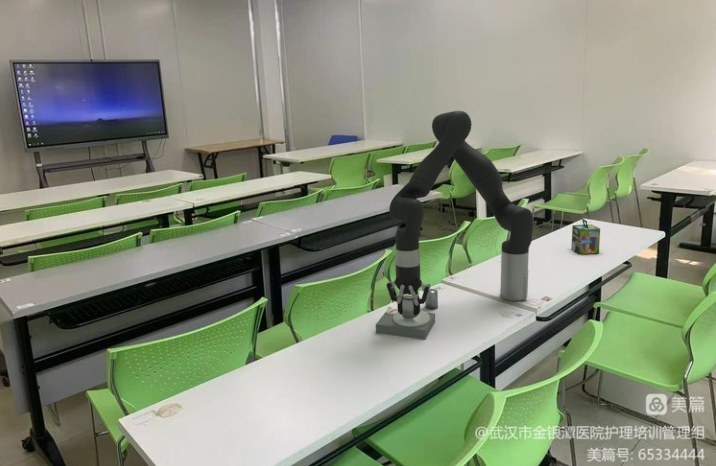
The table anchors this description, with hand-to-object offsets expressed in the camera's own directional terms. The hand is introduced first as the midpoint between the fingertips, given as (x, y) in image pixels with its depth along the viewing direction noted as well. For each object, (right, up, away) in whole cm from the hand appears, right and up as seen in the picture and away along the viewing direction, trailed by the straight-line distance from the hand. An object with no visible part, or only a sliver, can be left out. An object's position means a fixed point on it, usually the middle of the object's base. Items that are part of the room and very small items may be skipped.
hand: (408, 314), depth 165 cm
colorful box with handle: (+86, +17, +72) cm, 113 cm away
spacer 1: (0, -1, 0) cm, 1 cm away
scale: (0, -5, +5) cm, 7 cm away
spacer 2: (+10, -1, +19) cm, 22 cm away
